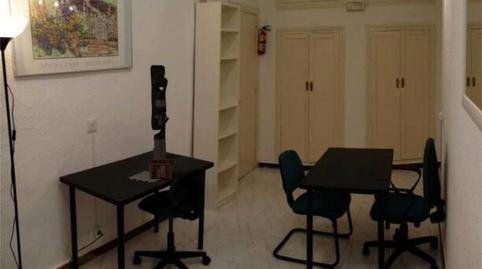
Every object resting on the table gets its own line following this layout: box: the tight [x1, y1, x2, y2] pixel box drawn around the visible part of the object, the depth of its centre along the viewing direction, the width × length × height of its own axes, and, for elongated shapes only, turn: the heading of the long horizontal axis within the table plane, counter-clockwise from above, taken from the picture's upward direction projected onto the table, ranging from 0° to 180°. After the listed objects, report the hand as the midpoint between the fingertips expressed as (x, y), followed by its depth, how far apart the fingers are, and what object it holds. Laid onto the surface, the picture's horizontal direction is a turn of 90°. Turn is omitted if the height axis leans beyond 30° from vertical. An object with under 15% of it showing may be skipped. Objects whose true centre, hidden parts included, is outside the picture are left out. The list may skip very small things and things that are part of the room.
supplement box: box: [148, 158, 174, 180], centre depth 336 cm, size 10×15×16 cm
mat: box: [128, 170, 162, 183], centre depth 336 cm, size 22×19×1 cm
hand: (161, 129), depth 342 cm, fingers closed
